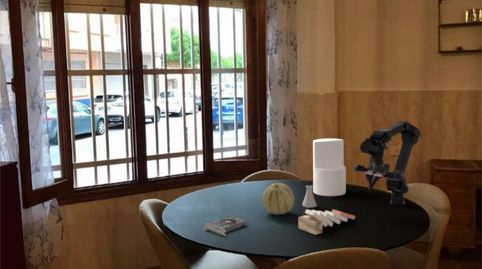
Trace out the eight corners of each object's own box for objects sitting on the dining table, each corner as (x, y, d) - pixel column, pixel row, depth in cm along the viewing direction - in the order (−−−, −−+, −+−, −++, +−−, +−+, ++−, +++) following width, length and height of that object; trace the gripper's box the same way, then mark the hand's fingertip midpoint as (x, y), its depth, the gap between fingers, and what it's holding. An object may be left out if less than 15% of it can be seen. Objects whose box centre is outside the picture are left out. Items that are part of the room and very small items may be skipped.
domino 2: (324, 220, 210) (312, 209, 204) (333, 223, 206) (320, 212, 200) (323, 223, 209) (310, 212, 204) (331, 226, 205) (319, 215, 200)
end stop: (305, 226, 206) (305, 215, 206) (322, 232, 198) (322, 220, 198) (298, 228, 204) (298, 217, 203) (315, 234, 196) (315, 222, 195)
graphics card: (223, 229, 196) (204, 222, 205) (223, 238, 197) (204, 231, 206) (252, 220, 208) (233, 214, 217) (252, 228, 209) (233, 222, 217)
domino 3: (332, 218, 212) (318, 210, 207) (340, 220, 208) (327, 213, 203) (330, 221, 212) (317, 213, 206) (339, 224, 208) (325, 216, 202)
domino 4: (339, 215, 215) (325, 210, 209) (348, 218, 211) (333, 212, 205) (338, 219, 215) (324, 213, 209) (346, 221, 211) (332, 216, 205)
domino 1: (319, 220, 208) (306, 209, 202) (327, 223, 204) (315, 211, 198) (317, 224, 207) (304, 212, 202) (326, 227, 203) (313, 215, 198)
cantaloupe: (292, 208, 233) (291, 178, 230) (296, 218, 218) (296, 186, 216) (261, 209, 232) (260, 179, 230) (264, 219, 218) (263, 187, 215)
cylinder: (308, 189, 267) (307, 139, 263) (335, 186, 272) (335, 137, 268) (322, 197, 251) (322, 144, 247) (351, 194, 256) (351, 142, 252)
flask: (305, 208, 232) (305, 188, 231) (299, 204, 239) (299, 185, 238) (319, 207, 234) (319, 187, 232) (313, 203, 241) (313, 183, 239)
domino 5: (346, 213, 218) (332, 209, 212) (355, 216, 214) (341, 211, 208) (345, 216, 218) (331, 212, 212) (354, 219, 214) (340, 215, 208)
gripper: (362, 152, 213) (355, 186, 212) (403, 161, 214) (396, 195, 213) (355, 152, 224) (348, 185, 223) (393, 161, 225) (387, 194, 224)
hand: (369, 190), depth 221 cm, fingers closed
